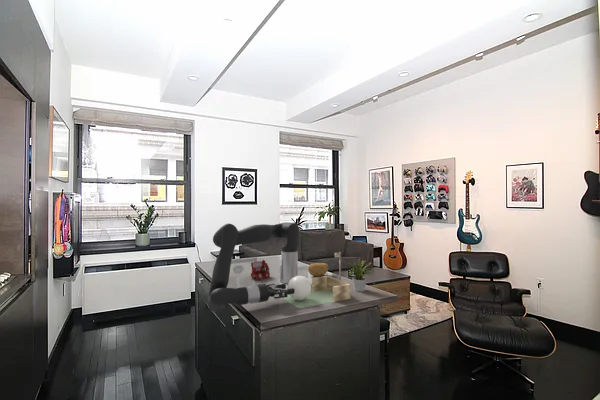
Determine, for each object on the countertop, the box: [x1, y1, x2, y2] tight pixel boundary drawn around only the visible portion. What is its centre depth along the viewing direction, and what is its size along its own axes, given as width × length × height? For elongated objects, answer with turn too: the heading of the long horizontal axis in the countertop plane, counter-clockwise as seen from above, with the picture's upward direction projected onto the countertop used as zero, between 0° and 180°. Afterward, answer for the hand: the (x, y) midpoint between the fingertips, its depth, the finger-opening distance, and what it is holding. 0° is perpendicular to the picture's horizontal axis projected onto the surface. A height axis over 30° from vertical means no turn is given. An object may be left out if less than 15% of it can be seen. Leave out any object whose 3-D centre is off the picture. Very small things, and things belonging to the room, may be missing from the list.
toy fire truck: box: [250, 259, 271, 281], centre depth 189 cm, size 7×12×10 cm, turn 132°
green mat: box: [282, 289, 352, 309], centre depth 151 cm, size 28×20×1 cm
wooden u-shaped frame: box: [311, 251, 351, 303], centre depth 155 cm, size 11×19×20 cm, turn 29°
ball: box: [286, 275, 312, 301], centre depth 147 cm, size 11×11×11 cm
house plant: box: [348, 258, 372, 292], centre depth 162 cm, size 14×14×16 cm
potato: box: [307, 262, 329, 277], centre depth 194 cm, size 10×14×8 cm
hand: (289, 288), depth 144 cm, fingers open, 8 cm apart
